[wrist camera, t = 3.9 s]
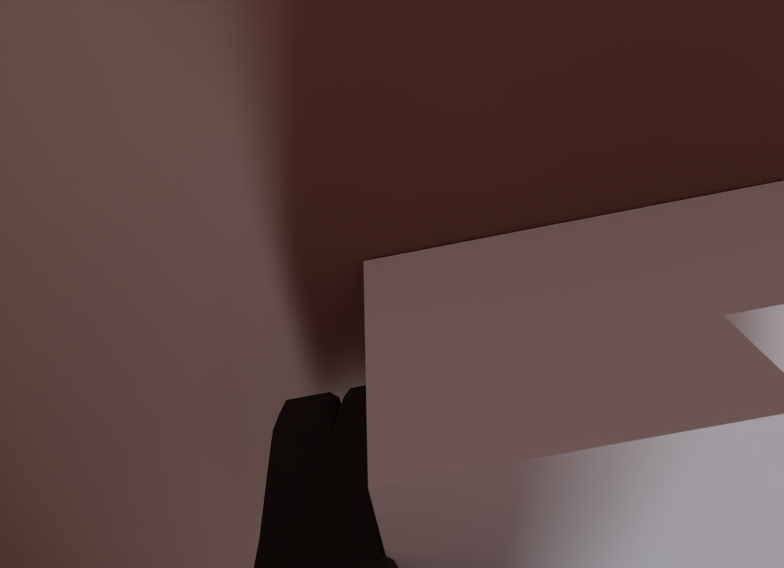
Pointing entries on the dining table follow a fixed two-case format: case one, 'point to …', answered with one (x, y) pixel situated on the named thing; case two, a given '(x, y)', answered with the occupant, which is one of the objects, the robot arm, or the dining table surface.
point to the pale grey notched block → (584, 392)
